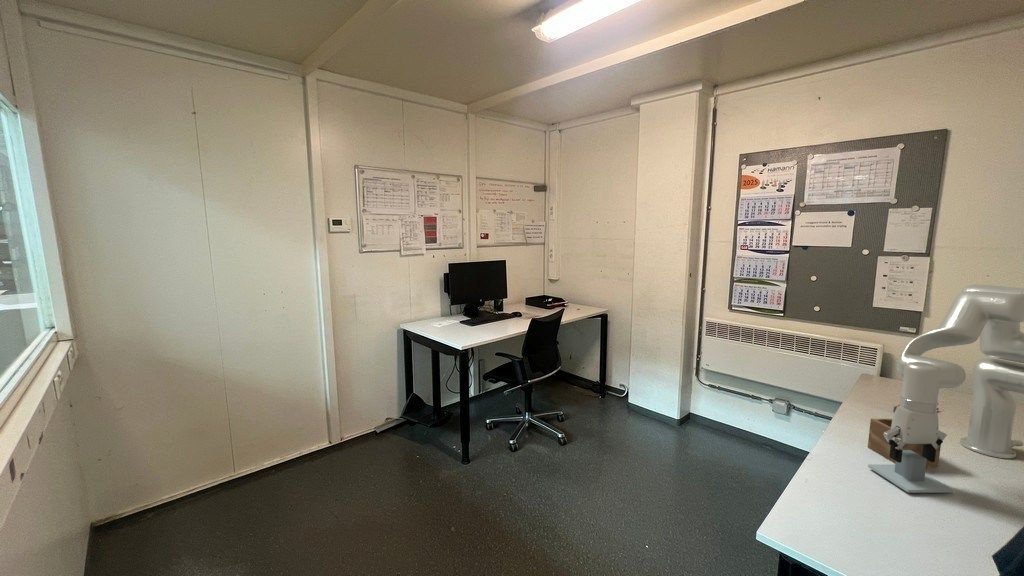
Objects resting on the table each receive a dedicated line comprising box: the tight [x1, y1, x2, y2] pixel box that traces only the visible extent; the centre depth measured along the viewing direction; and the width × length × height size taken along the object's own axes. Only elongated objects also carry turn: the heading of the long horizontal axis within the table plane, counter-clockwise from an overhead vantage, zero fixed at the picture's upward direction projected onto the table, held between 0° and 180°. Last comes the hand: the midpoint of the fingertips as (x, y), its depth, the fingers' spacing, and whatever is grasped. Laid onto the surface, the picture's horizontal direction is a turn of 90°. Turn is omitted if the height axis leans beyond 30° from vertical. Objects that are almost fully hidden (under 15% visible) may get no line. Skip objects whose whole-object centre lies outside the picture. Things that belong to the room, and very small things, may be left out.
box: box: [867, 418, 942, 468], centre depth 135 cm, size 12×12×10 cm
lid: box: [867, 450, 955, 493], centre depth 121 cm, size 13×13×9 cm
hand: (911, 459), depth 121 cm, fingers open, 9 cm apart
